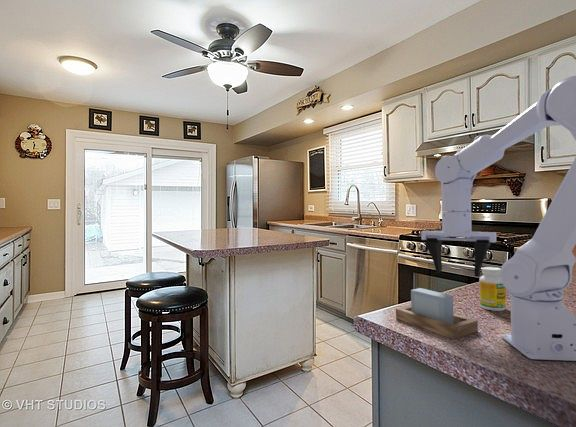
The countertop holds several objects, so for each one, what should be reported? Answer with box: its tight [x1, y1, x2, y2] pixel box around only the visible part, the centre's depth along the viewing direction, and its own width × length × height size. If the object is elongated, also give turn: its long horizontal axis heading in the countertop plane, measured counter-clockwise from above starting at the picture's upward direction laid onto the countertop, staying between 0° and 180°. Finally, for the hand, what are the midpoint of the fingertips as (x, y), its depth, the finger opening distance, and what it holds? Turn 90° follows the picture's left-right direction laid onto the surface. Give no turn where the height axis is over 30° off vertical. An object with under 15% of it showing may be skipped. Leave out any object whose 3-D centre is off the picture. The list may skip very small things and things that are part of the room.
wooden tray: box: [395, 305, 479, 340], centre depth 69 cm, size 14×7×2 cm, turn 28°
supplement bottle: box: [478, 266, 507, 312], centre depth 79 cm, size 5×5×10 cm
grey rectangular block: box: [410, 287, 455, 324], centre depth 69 cm, size 8×3×6 cm, turn 28°
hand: (457, 273), depth 72 cm, fingers open, 7 cm apart
